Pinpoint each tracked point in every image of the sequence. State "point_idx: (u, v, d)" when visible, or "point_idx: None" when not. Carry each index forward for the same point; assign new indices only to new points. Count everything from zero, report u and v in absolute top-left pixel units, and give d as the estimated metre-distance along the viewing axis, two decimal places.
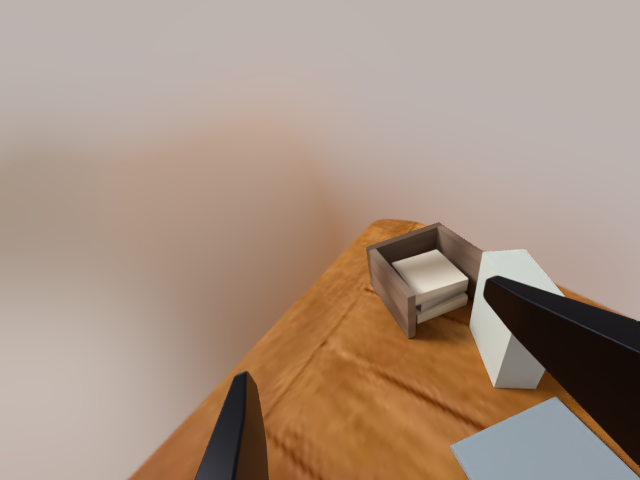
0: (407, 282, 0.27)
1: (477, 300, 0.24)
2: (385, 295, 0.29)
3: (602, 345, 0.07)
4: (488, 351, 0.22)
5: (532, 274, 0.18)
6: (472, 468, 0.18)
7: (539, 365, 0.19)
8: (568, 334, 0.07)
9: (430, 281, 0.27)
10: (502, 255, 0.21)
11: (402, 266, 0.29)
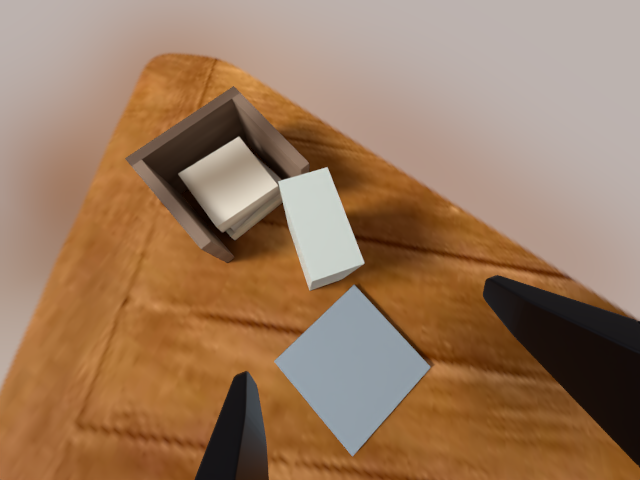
0: (204, 207, 0.20)
1: (287, 219, 0.20)
2: None
3: (602, 345, 0.07)
4: (302, 266, 0.21)
5: (330, 215, 0.15)
6: (291, 372, 0.21)
7: (341, 277, 0.20)
8: (568, 334, 0.07)
9: (233, 199, 0.20)
10: (301, 184, 0.15)
11: (194, 178, 0.20)
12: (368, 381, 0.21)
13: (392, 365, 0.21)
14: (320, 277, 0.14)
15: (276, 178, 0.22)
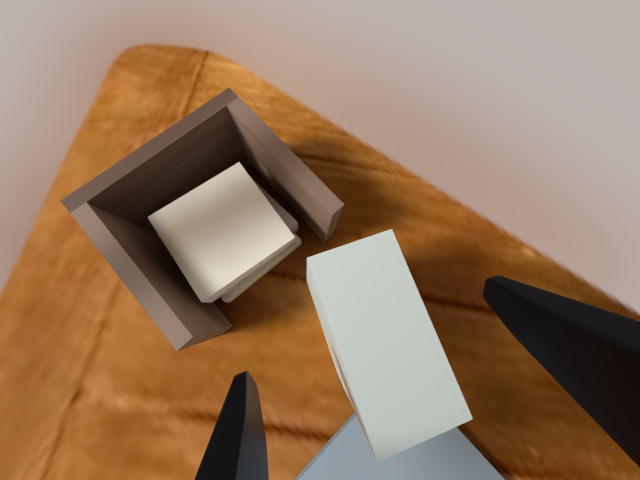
0: (184, 269, 0.13)
1: (310, 286, 0.13)
2: None
3: (602, 345, 0.07)
4: (329, 347, 0.15)
5: (403, 322, 0.08)
6: None
7: None
8: (568, 334, 0.07)
9: (228, 257, 0.13)
10: (348, 263, 0.08)
11: (171, 224, 0.14)
12: None
13: None
14: (393, 452, 0.07)
15: (291, 221, 0.16)
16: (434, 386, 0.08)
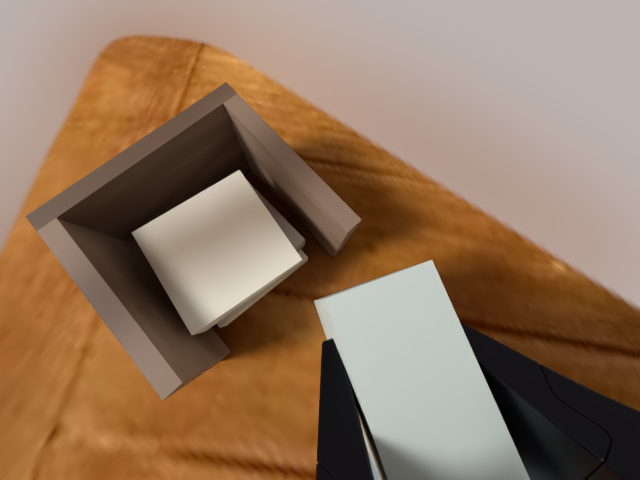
0: (172, 295, 0.11)
1: (321, 314, 0.11)
2: None
3: (502, 390, 0.06)
4: None
5: (451, 384, 0.06)
6: None
7: None
8: None
9: (224, 282, 0.12)
10: (378, 305, 0.07)
11: (159, 241, 0.12)
12: None
13: None
14: None
15: (297, 237, 0.14)
16: (495, 473, 0.06)
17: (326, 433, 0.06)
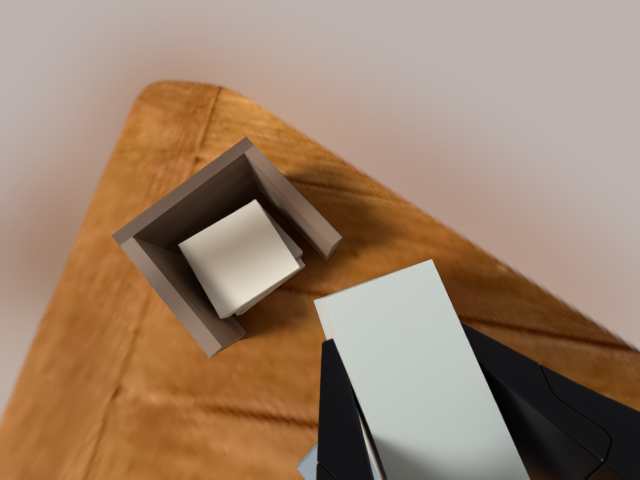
0: (207, 290, 0.16)
1: (321, 313, 0.11)
2: None
3: (502, 390, 0.06)
4: None
5: (451, 384, 0.06)
6: None
7: None
8: None
9: (244, 282, 0.16)
10: (378, 305, 0.07)
11: (198, 251, 0.16)
12: None
13: None
14: None
15: (297, 250, 0.18)
16: (494, 472, 0.06)
17: (326, 433, 0.06)
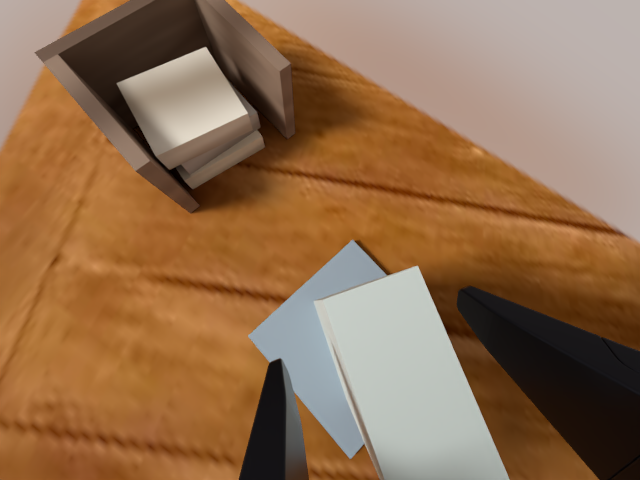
0: (143, 128, 0.15)
1: (320, 313, 0.12)
2: None
3: (565, 362, 0.06)
4: (339, 375, 0.14)
5: (432, 375, 0.07)
6: (270, 350, 0.16)
7: None
8: (534, 349, 0.07)
9: (185, 123, 0.15)
10: (370, 306, 0.07)
11: (137, 91, 0.15)
12: None
13: None
14: None
15: (251, 110, 0.17)
16: (469, 451, 0.07)
17: (249, 466, 0.06)
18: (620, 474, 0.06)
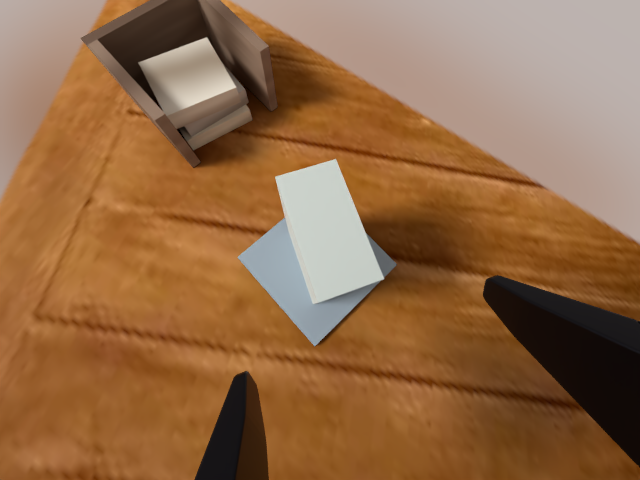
0: (157, 96, 0.19)
1: (287, 222, 0.17)
2: None
3: (602, 345, 0.07)
4: (304, 276, 0.18)
5: (340, 219, 0.12)
6: (254, 267, 0.20)
7: None
8: (568, 334, 0.07)
9: (188, 93, 0.20)
10: (304, 180, 0.12)
11: (153, 68, 0.20)
12: None
13: None
14: (328, 297, 0.11)
15: (240, 87, 0.22)
16: (359, 258, 0.11)
17: None
18: None
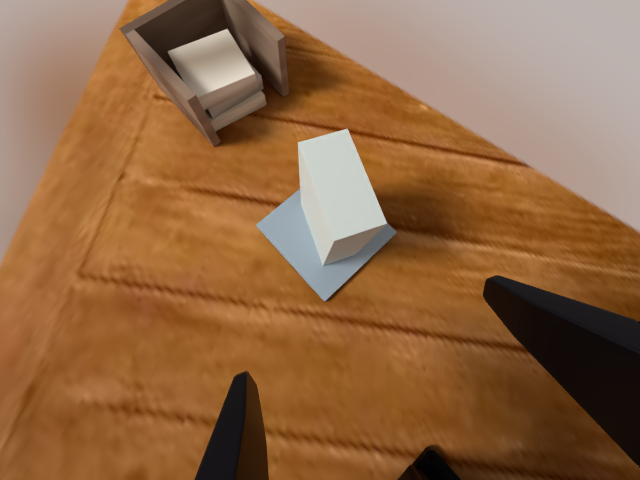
0: (185, 81, 0.22)
1: (302, 189, 0.20)
2: (176, 101, 0.24)
3: (602, 345, 0.07)
4: (316, 239, 0.21)
5: (351, 176, 0.14)
6: (270, 234, 0.23)
7: (356, 249, 0.20)
8: (568, 334, 0.07)
9: (212, 78, 0.22)
10: (321, 145, 0.15)
11: (181, 57, 0.22)
12: None
13: None
14: (342, 236, 0.14)
15: (257, 74, 0.24)
16: (367, 207, 0.14)
17: None
18: None
